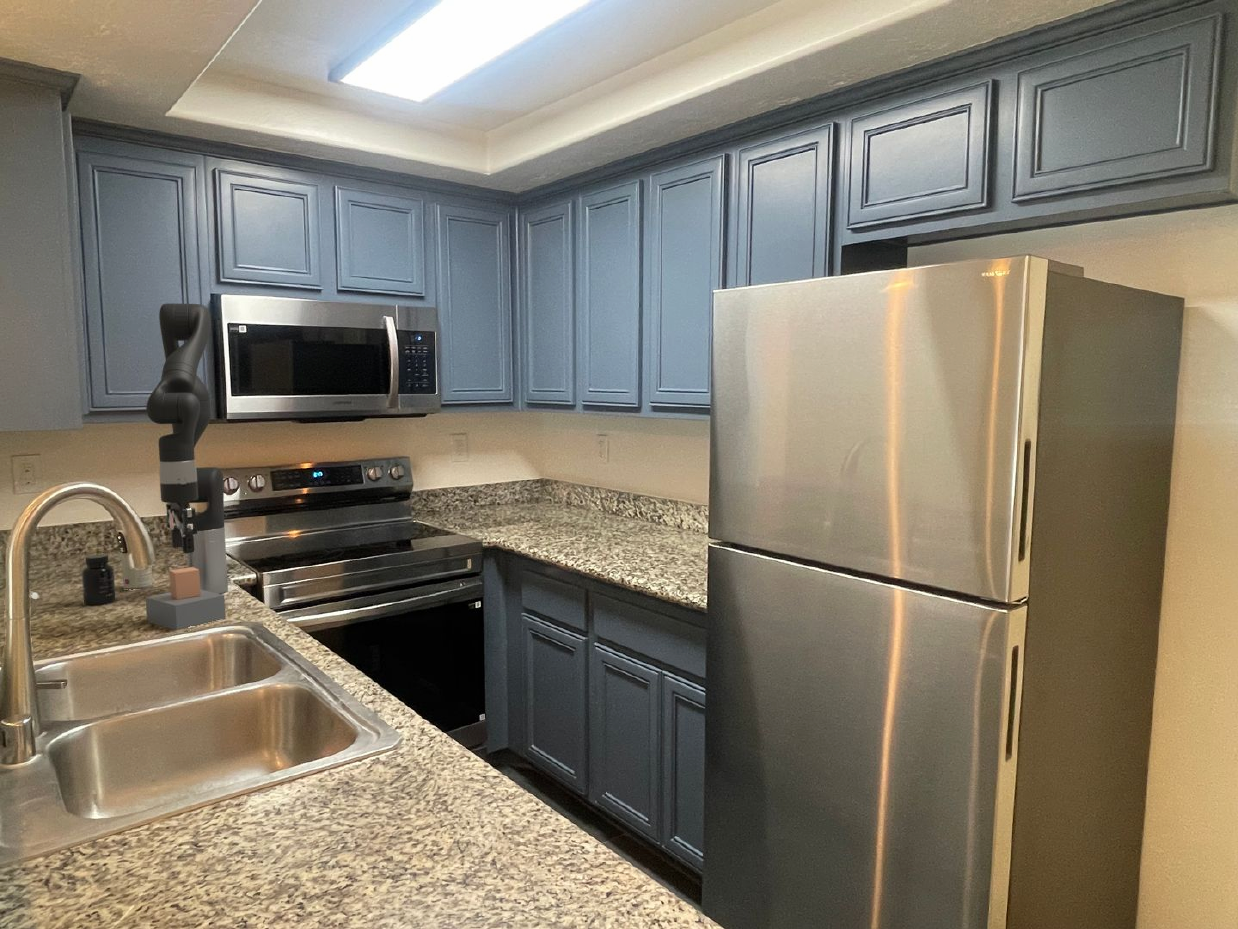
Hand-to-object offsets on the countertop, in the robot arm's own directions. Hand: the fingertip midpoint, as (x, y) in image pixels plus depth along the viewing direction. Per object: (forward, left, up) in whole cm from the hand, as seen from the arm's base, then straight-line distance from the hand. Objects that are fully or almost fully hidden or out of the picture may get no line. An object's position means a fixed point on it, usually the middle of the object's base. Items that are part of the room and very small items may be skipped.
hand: (183, 550), depth 184 cm
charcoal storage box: (0, 0, -17) cm, 17 cm away
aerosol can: (-45, 0, -17) cm, 48 cm away
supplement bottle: (-34, -11, -17) cm, 39 cm away
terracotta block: (0, 0, -11) cm, 11 cm away
